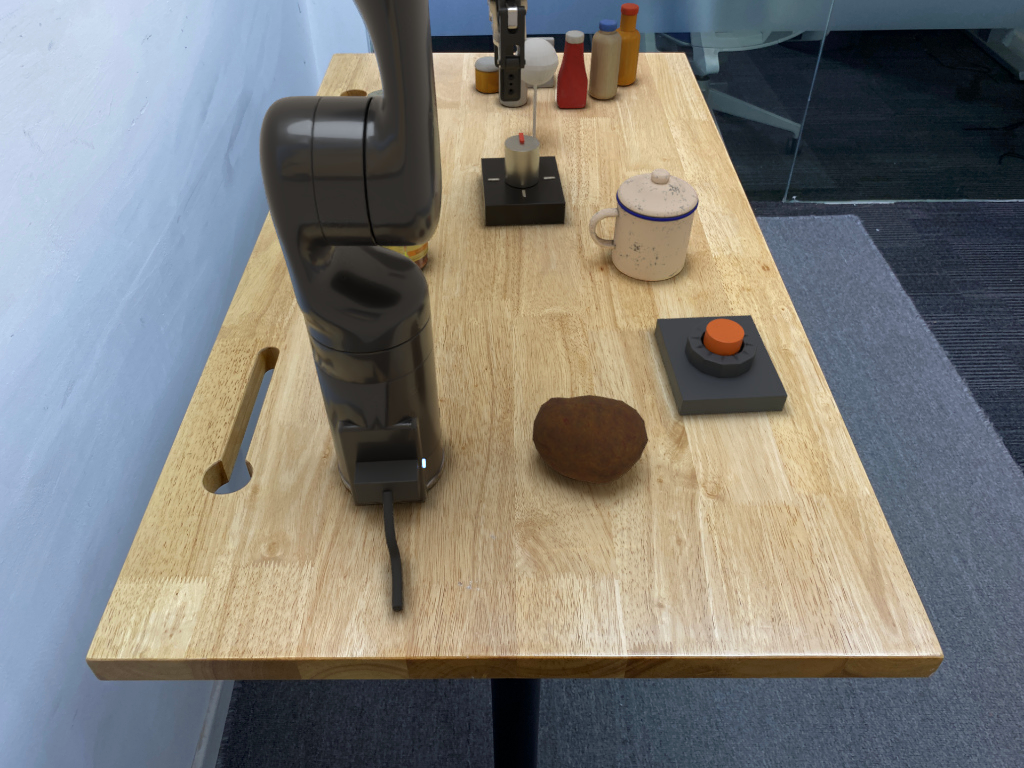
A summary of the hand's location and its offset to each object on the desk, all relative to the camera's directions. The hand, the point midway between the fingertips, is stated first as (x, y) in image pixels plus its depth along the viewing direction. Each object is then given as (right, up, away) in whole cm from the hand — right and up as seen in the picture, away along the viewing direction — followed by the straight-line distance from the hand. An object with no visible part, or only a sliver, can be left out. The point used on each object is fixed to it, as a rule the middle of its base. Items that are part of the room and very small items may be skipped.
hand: (507, 82), depth 87 cm
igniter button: (+21, -30, -11) cm, 38 cm away
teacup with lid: (+15, -19, +5) cm, 25 cm away
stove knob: (+2, -7, +13) cm, 15 cm away
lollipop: (+4, +1, +26) cm, 26 cm away
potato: (+7, -41, -18) cm, 46 cm away
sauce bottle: (-12, -20, +5) cm, 24 cm away
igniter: (+21, -33, -9) cm, 40 cm away
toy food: (+8, +13, +39) cm, 42 cm away
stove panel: (+2, -10, +15) cm, 18 cm away
